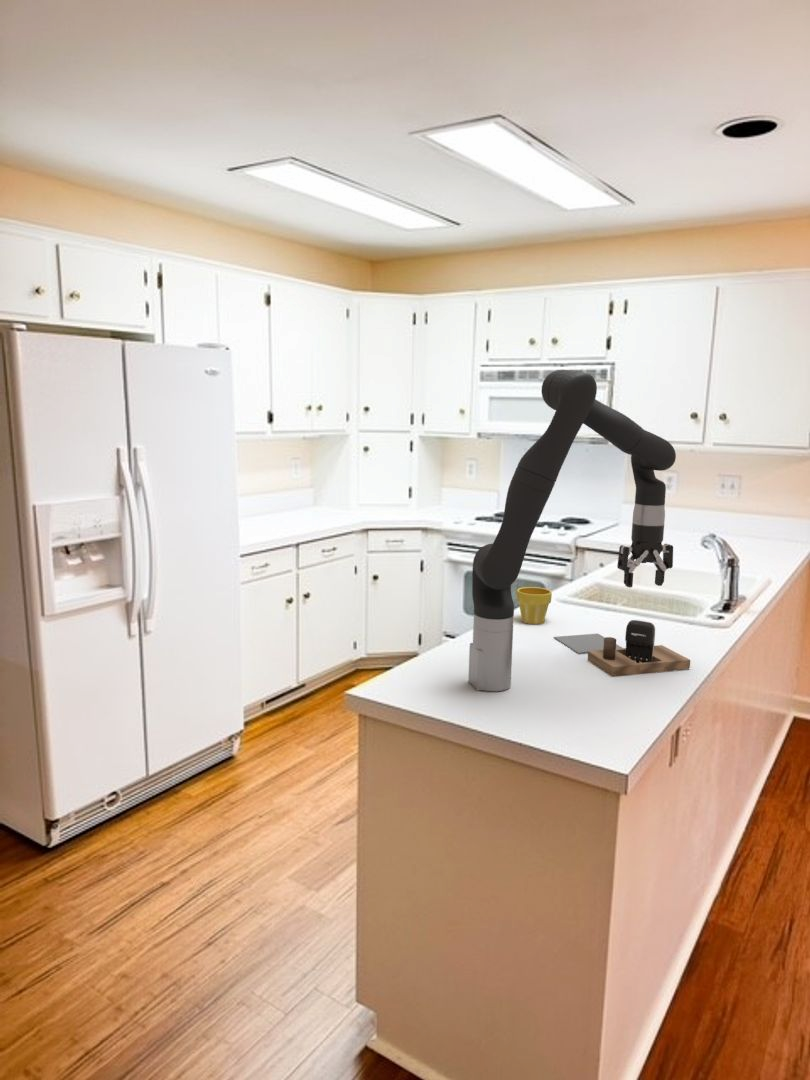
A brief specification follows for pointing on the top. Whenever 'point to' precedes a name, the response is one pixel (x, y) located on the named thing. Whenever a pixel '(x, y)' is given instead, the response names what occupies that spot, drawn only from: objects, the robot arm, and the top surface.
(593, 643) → the rubber mat
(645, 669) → the plane body
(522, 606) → the plant pot
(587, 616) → the top surface
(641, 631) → the battery charger
